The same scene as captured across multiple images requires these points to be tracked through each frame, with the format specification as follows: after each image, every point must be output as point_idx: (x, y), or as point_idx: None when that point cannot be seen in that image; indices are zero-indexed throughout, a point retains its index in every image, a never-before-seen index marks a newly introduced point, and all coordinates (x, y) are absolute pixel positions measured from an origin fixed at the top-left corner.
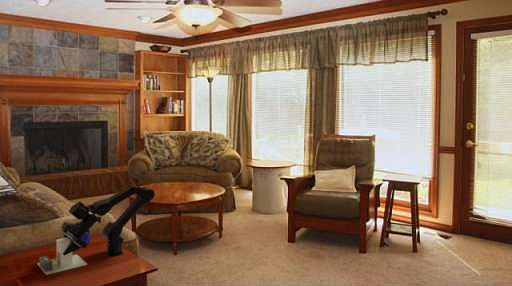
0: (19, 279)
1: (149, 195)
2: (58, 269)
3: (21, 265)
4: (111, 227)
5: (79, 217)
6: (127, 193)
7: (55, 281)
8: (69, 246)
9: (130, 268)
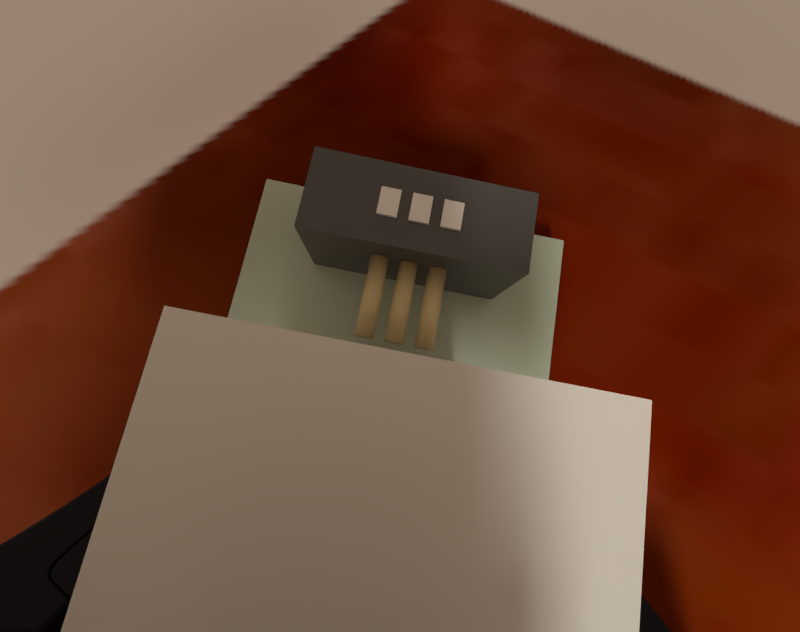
0: (392, 45)
1: None
2: (283, 310)
3: (636, 168)
4: None
5: None
6: None
7: (127, 197)
8: (30, 527)
9: None
